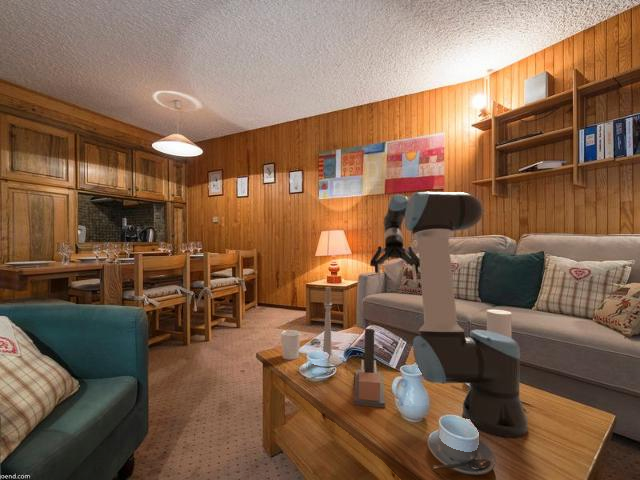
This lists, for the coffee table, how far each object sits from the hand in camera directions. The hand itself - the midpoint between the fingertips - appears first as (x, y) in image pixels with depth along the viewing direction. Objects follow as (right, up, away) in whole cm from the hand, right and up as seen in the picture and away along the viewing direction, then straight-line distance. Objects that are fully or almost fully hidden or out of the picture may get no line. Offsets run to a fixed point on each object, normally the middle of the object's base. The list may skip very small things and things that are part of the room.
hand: (397, 279), depth 117 cm
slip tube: (-14, -31, -20) cm, 40 cm away
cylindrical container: (+30, -34, -15) cm, 48 cm away
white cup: (-42, -33, +8) cm, 54 cm away
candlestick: (-27, -34, +5) cm, 43 cm away
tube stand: (-14, -33, -18) cm, 40 cm away
